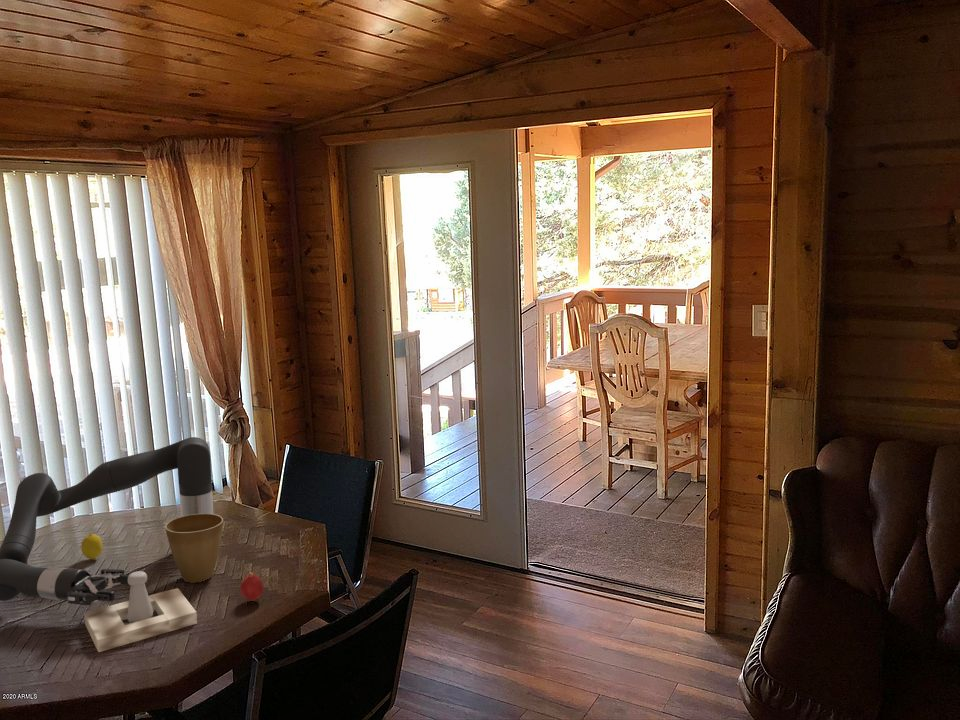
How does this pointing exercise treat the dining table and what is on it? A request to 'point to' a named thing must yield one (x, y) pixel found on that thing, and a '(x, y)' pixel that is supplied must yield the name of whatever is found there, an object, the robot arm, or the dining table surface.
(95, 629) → the hole board
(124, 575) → the robot arm
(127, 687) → the dining table surface
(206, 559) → the plant pot
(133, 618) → the salt shaker
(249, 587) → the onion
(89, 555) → the lemon
